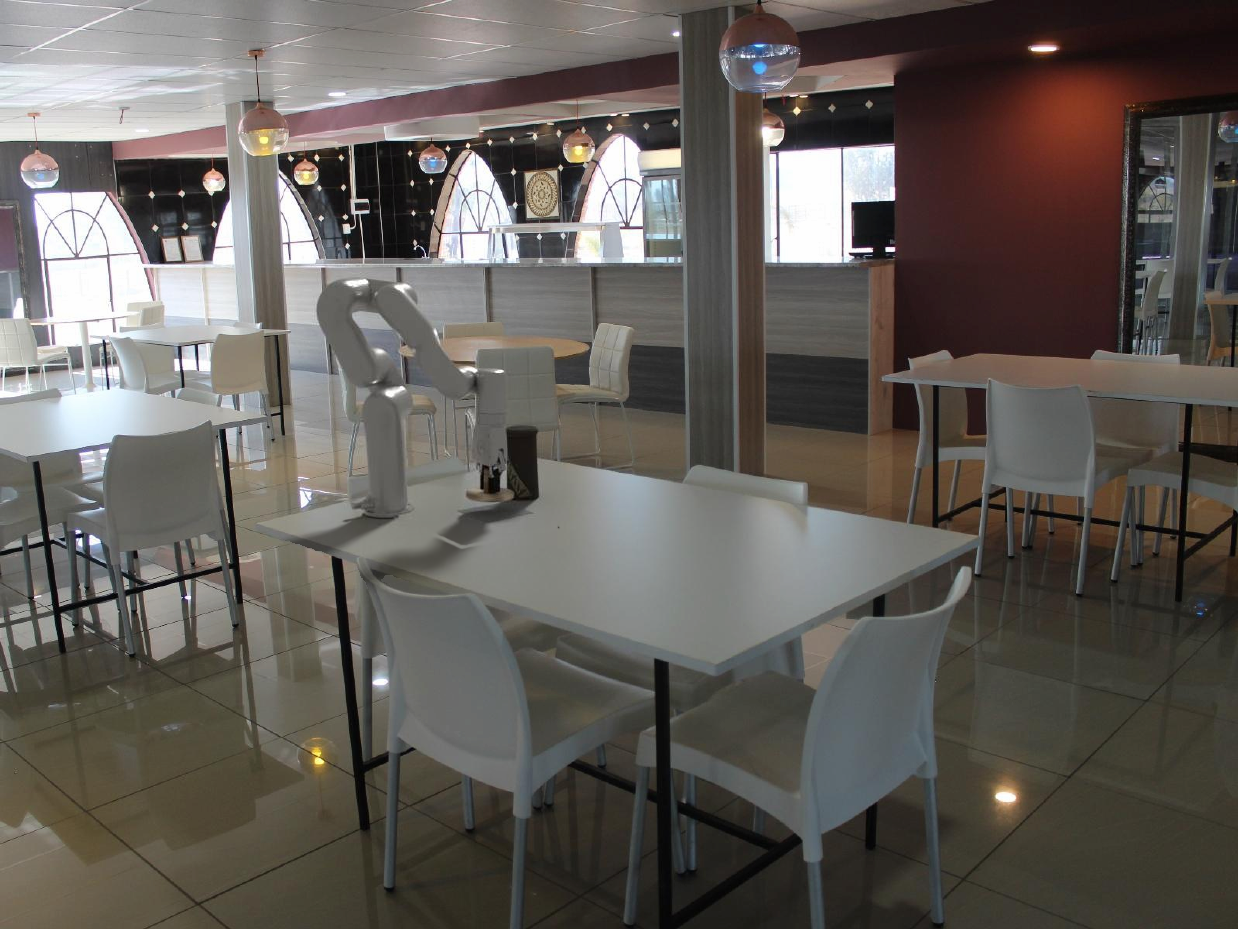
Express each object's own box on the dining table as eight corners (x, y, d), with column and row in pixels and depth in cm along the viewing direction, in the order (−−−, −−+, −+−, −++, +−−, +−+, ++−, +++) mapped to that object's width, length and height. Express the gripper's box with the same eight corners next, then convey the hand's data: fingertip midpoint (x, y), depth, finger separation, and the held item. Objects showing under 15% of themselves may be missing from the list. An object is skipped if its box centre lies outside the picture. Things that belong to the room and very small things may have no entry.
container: (502, 498, 296) (499, 424, 292) (533, 494, 300) (531, 422, 295) (512, 505, 288) (510, 429, 284) (545, 501, 292) (543, 427, 288)
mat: (485, 525, 269) (485, 521, 269) (457, 513, 280) (457, 510, 280) (533, 515, 277) (533, 512, 277) (504, 505, 288) (504, 502, 288)
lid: (481, 504, 270) (482, 476, 268) (457, 494, 279) (457, 467, 277) (523, 498, 277) (523, 471, 275) (497, 488, 286) (498, 462, 285)
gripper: (461, 414, 278) (460, 485, 282) (494, 425, 265) (493, 499, 269) (487, 412, 282) (486, 482, 286) (521, 423, 269) (520, 496, 273)
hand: (490, 490), depth 278 cm, fingers closed on lid, 3 cm apart
